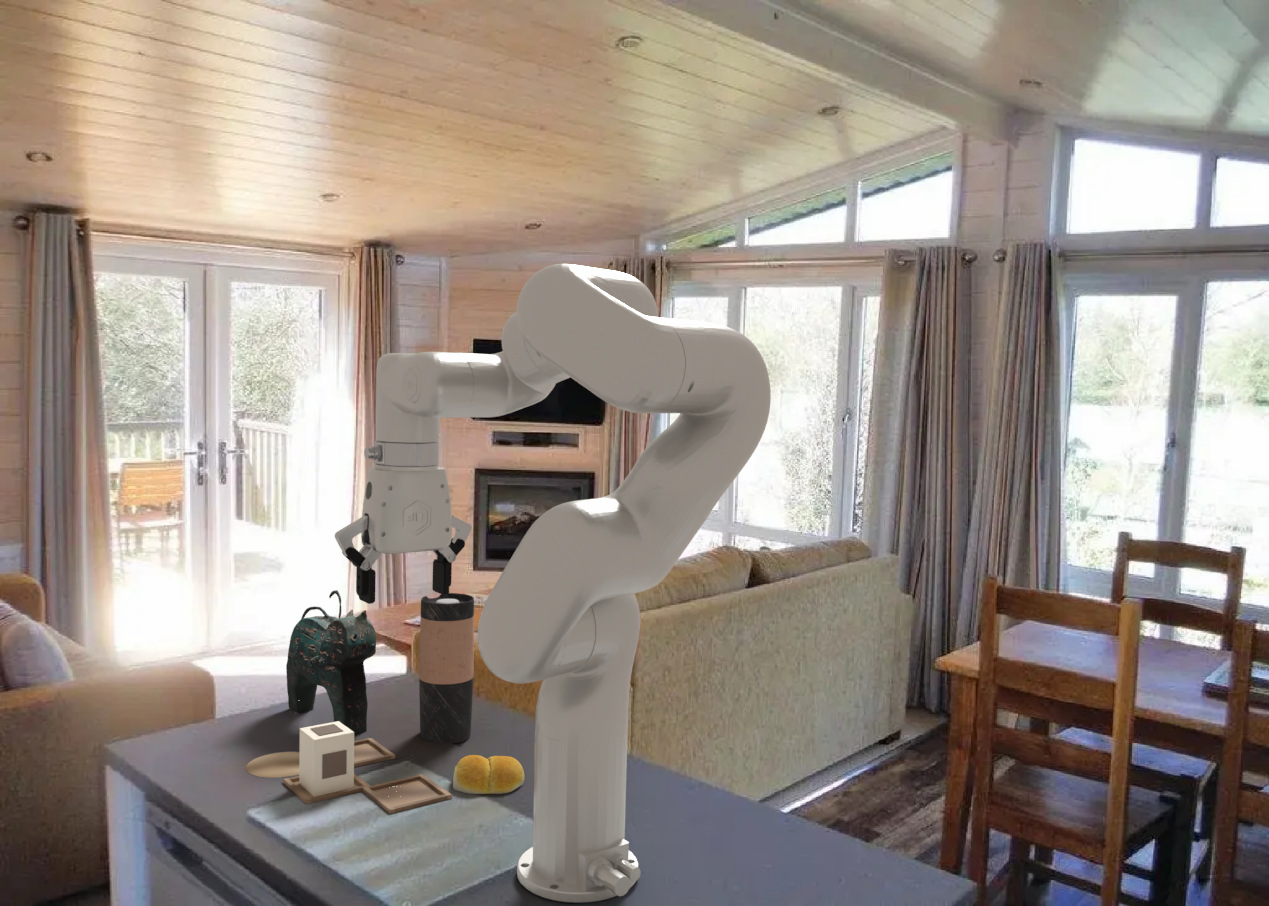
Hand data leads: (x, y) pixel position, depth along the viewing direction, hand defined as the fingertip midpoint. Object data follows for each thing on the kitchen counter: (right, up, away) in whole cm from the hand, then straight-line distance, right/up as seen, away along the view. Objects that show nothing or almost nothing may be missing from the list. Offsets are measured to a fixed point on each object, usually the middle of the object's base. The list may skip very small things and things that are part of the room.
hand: (404, 597), depth 124 cm
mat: (-18, -24, +9) cm, 31 cm away
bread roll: (+9, -25, +5) cm, 27 cm away
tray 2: (-10, -23, +13) cm, 29 cm away
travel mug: (+1, -23, +23) cm, 33 cm away
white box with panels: (-10, -24, +3) cm, 26 cm away
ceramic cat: (-18, -23, +27) cm, 40 cm away
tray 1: (-10, -24, +3) cm, 26 cm away
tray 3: (0, -25, +1) cm, 25 cm away
